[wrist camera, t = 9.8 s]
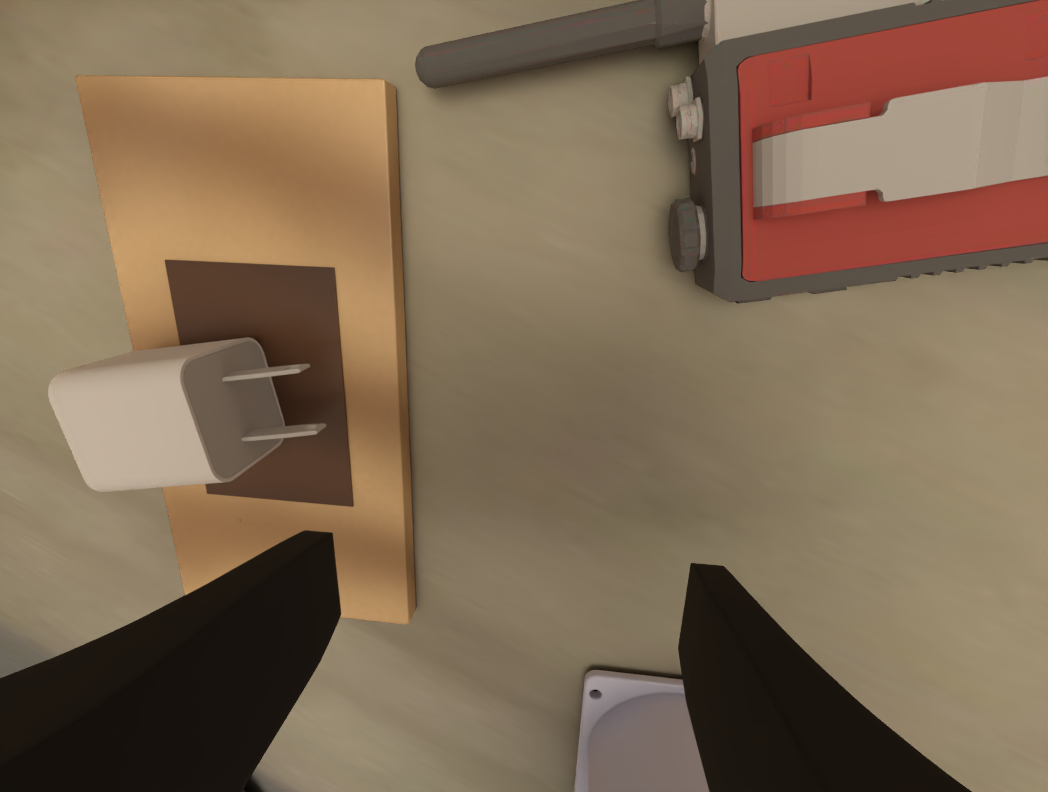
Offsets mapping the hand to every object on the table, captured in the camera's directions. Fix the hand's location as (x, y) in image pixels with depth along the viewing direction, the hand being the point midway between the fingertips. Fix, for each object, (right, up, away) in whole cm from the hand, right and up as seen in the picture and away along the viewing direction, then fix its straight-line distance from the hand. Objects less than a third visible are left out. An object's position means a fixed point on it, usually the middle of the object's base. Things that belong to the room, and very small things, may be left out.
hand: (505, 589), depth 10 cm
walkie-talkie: (+8, +12, +5) cm, 15 cm away
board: (-9, +4, +9) cm, 14 cm away
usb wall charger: (-9, +4, +9) cm, 13 cm away
